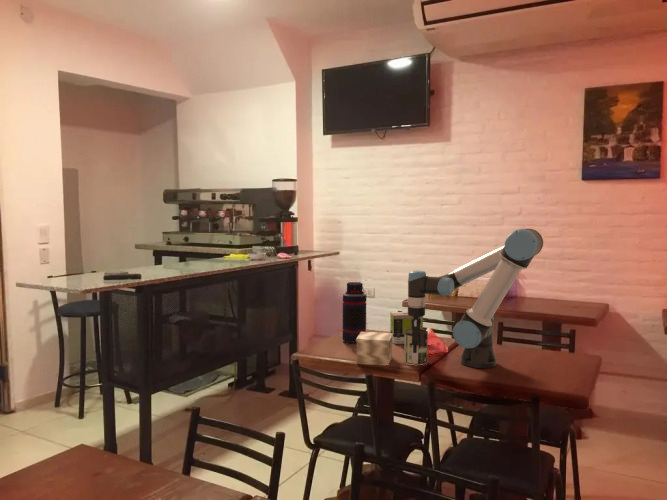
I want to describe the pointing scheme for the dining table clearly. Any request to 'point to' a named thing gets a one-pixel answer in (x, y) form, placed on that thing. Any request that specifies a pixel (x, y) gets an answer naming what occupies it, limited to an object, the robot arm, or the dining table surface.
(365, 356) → the birch box
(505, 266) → the robot arm
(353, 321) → the red-striped thermos flask
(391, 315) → the tea box
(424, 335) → the coffee can
